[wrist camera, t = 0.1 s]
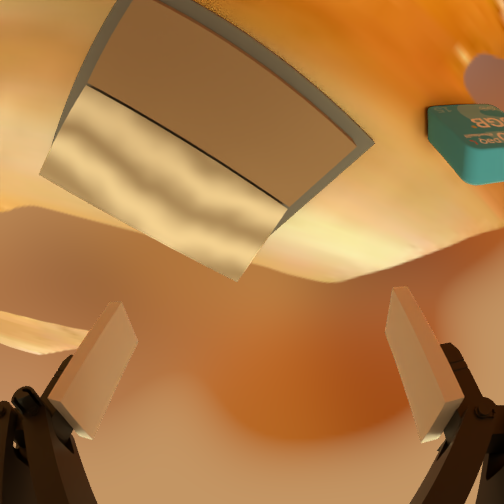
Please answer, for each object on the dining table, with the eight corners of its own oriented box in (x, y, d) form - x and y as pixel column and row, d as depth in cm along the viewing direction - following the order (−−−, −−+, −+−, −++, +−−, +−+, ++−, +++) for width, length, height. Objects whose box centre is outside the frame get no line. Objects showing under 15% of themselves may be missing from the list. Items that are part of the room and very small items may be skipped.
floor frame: (138, -27, 21) (128, -28, 19) (372, 140, 36) (379, 150, 34) (49, 161, 38) (39, 171, 36) (233, 263, 53) (232, 276, 51)
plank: (89, 87, 29) (85, 85, 28) (282, 205, 42) (287, 208, 40) (44, 172, 32) (38, 174, 30) (233, 275, 44) (237, 282, 43)
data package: (492, 103, 29) (545, 145, 20) (490, 131, 32) (538, 177, 23) (423, 106, 31) (471, 151, 23) (423, 136, 34) (467, 188, 26)
